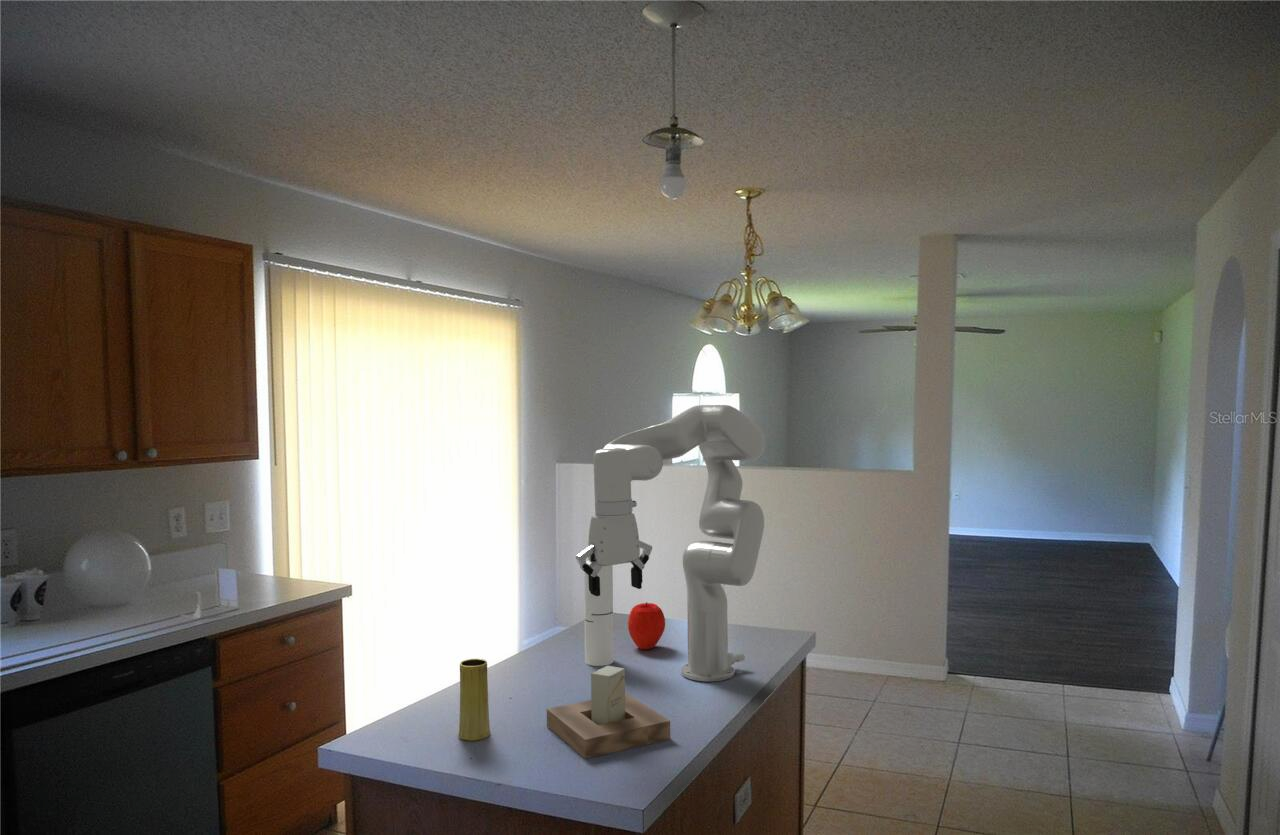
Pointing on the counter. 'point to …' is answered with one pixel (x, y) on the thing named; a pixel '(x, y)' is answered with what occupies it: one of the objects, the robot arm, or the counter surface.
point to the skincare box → (608, 695)
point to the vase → (473, 700)
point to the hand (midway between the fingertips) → (616, 591)
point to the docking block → (607, 728)
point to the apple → (646, 625)
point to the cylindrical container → (599, 619)
